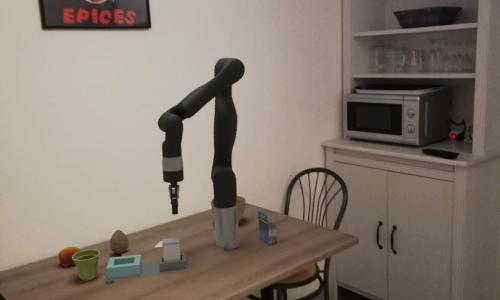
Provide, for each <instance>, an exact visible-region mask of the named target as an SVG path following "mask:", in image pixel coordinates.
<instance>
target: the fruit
mask: <svg viewBox="0 0 500 300" xmlns="http://www.w3.org/2000/svg"><path fill="white" fill-rule="evenodd" d="M80 251H81V250H80V248H78V247H77V246H67V247H64V248H63V249H61V250H60V251H59V252H58V254H57V255H58V260H59V262H60V264H61V265H62V266H64V267H65V268H67V267H69V266H72V265H75V266H76V264H75V262H74V260H73V259H72V256H73V255H74V254H75V253H77V252H80Z"/></svg>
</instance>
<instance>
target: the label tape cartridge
mask: <svg viewBox="0 0 500 300" xmlns="http://www.w3.org/2000/svg"><path fill="white" fill-rule="evenodd" d="M257 218H258V233H259V234H258V235H259V237H258V238H259V239H261V240H262V241H263V242H265V244H267V245H272V244H273V245H274V244H277V224H276V223H275V222H273V221H272V220H270V219H269V217H268V215H267V214H265V213H263V212H262V211H260V210H257Z"/></svg>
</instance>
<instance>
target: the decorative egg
mask: <svg viewBox="0 0 500 300" xmlns="http://www.w3.org/2000/svg"><path fill="white" fill-rule="evenodd" d="M109 245H110V246H109V247H110V249H111V251H112V253H114V254H117V255H122V254H123V253H125V252H127V250H128V248H129V245H130V244H129V239H128V237H127V235H126V234H125V233H124V232H123V231H122V230H120V229H117V230H115V231H114V232H113V234H112V235H111V237H110V240H109Z"/></svg>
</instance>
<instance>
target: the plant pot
mask: <svg viewBox="0 0 500 300" xmlns="http://www.w3.org/2000/svg"><path fill="white" fill-rule="evenodd" d="M100 255H101V252H100V250H98V249H93V248H92V249H83V250H80V252H77V253H75V254H74V255H73V256H72V259H73V260H74V262H75V264H76V265H75V266H76V270H77V274H78V277H79V279H80V280H81V281H86V282H87V281H92V280H94V278H97V277H98V273H99V271H98V270H99V269H98V267H99V257H100Z"/></svg>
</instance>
